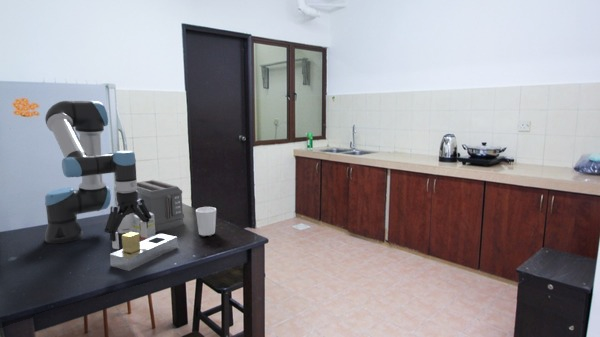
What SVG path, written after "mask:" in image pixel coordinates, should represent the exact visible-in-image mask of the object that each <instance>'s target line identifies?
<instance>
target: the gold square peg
mask: <svg viewBox="0 0 600 337" xmlns="http://www.w3.org/2000/svg"><path fill="white" fill-rule="evenodd" d="M140 242H141V241H140V239H139V233H135V232H134V231H133V232H129V233H123V234H122V235H121V246H122V249H123V253H126V254H130V255H131V254H133V253H136V252H138V251H140Z"/></svg>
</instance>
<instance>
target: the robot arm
mask: <svg viewBox="0 0 600 337" xmlns="http://www.w3.org/2000/svg"><path fill="white" fill-rule="evenodd" d="M44 119H45V120H44V121H45V124H46V127H47V129H48V130H49V131H50V132H52V133H53V135H54V138H55V140H56V141H57V144H58V147H59V149H60V150H61V153H62V155H63V158H62V160H61V168H62V173H63V175H64V176H65V177H66V178H79V177H80V178H81V181H82V182H81V183H80V184H79V185H78V189H74V188H73V187H71V186H70V187H63V188H62V187H61V188H57V189H54V190H51V191H49V192H47V193H46V195H45V196H44V199H45V201H44V205H45V209H46V211H45V212H46V219H47V220H46V221H47V227H46V231H45V234H44V240H45V243H47V244H63V243H68V242H73V241H77V240H79V239H81V238H82V237H83V234H84V233H83V229H82V227H81V225H80V223H79V221H78V217H77V215H82V214H86V213H93V212H99V211H103V210H106V209H108V207H109V206H110V204H111V200H112V193H111V189H110V187H109V186H108V185H107V183H106V182H104V181H103V175H104V174H105V175H106V174H113V173H114V181H115V185H116V191H118V192H117V193H116V196H117V202H118V206H116V205H115V206H113V205H112V206H110V208H109V209H110V212H109V215H108V218H107V222H106V225H105V228H104V233H106V234H109V240H110V242H111V244H112V249H115V250H119V249H120V244H119V243H120V241H119V233H118V227H119V225H120V224H121V222H122V220H123V218H124V217H125V216H126V215H129V214H132V213H135V214H136V215H137V216H138V217H139V218H140V219H141V220H142V221H141V222H140V227H141V237H145V238H147V228H148V222H149V221H150V220H149V219H151V215H150V213H149V211H148V210H147V208H146V206H145V204H144V200H143V199H138V192H137V190H136V189H137V181H138V180H137V166H136V165H137V164H136V163H137V161H136V160H137V159H136V155H135V152H134V151H132V150H118V151H115V152H109V153H107V154H102V142H101V134H102V133H103V132H104V130H105V129H104V127H106V126H108V125H109V115H108V112H107V109H106V107H105V105H104V104H103V103H102V102H100V101H95V100H62V101H58V102H56V103H55V104H53V105H52V106H50V108H49V109H48V110H47V112H46V114H45V118H44ZM77 133H78V134H77ZM78 135H79V136H78ZM137 205H138V206H139V208H140V209H141V211H142V213H143V214H142V213H141V212H140V210H139V209H138V208H137ZM121 213H122V214H121Z"/></svg>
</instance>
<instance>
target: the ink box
mask: <svg viewBox="0 0 600 337" xmlns="http://www.w3.org/2000/svg"><path fill="white" fill-rule="evenodd" d="M149 213H150V215H151V219H149V220H150V221H149V222H148V228H147V238H145V237H141V227H140V222H141V221H142V220H141V219H140V218H139V217H138V216H137V215H134V216H133V229H134V231H133V232H135V233H139V239H140V242H141V241H143V240H146V239H148V238H150V237H153V236H155V235H157V234H156V231H155V219H154V214H153V213H151V212H149ZM142 214H143V213H142Z"/></svg>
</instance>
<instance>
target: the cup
mask: <svg viewBox="0 0 600 337" xmlns="http://www.w3.org/2000/svg"><path fill="white" fill-rule="evenodd" d="M195 216H196V223H197V229H198V235H199V236H201V237H202V238H205V237H206V236H207V237H212V235H215V233H216V221H217V208H216V207H213V206H203V207H198V208H196V209H195Z"/></svg>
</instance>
